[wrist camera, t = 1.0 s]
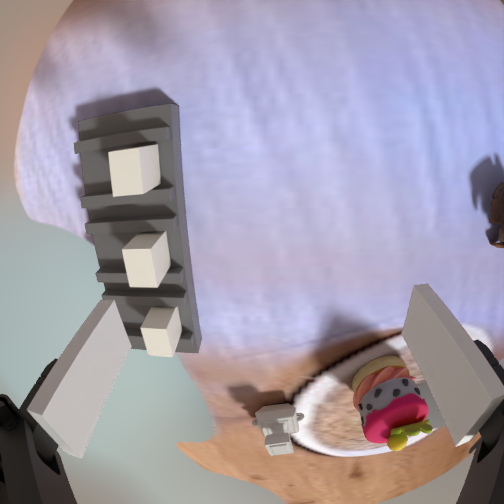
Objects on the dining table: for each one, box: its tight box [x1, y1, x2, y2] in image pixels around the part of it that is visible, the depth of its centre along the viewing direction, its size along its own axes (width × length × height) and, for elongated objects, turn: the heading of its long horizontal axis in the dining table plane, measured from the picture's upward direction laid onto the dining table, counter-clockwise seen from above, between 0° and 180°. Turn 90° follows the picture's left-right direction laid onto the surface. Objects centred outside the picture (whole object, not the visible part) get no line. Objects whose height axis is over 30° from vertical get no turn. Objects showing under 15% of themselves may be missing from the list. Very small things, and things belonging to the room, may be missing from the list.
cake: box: [352, 356, 432, 451], centre depth 36 cm, size 10×10×15 cm
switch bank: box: [74, 104, 202, 353], centre depth 32 cm, size 30×11×4 cm, turn 1°
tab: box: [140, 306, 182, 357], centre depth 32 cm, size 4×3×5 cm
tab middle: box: [122, 231, 171, 288], centre depth 29 cm, size 4×3×5 cm
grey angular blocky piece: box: [252, 403, 304, 456], centre depth 42 cm, size 9×7×8 cm
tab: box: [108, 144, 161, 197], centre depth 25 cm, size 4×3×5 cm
